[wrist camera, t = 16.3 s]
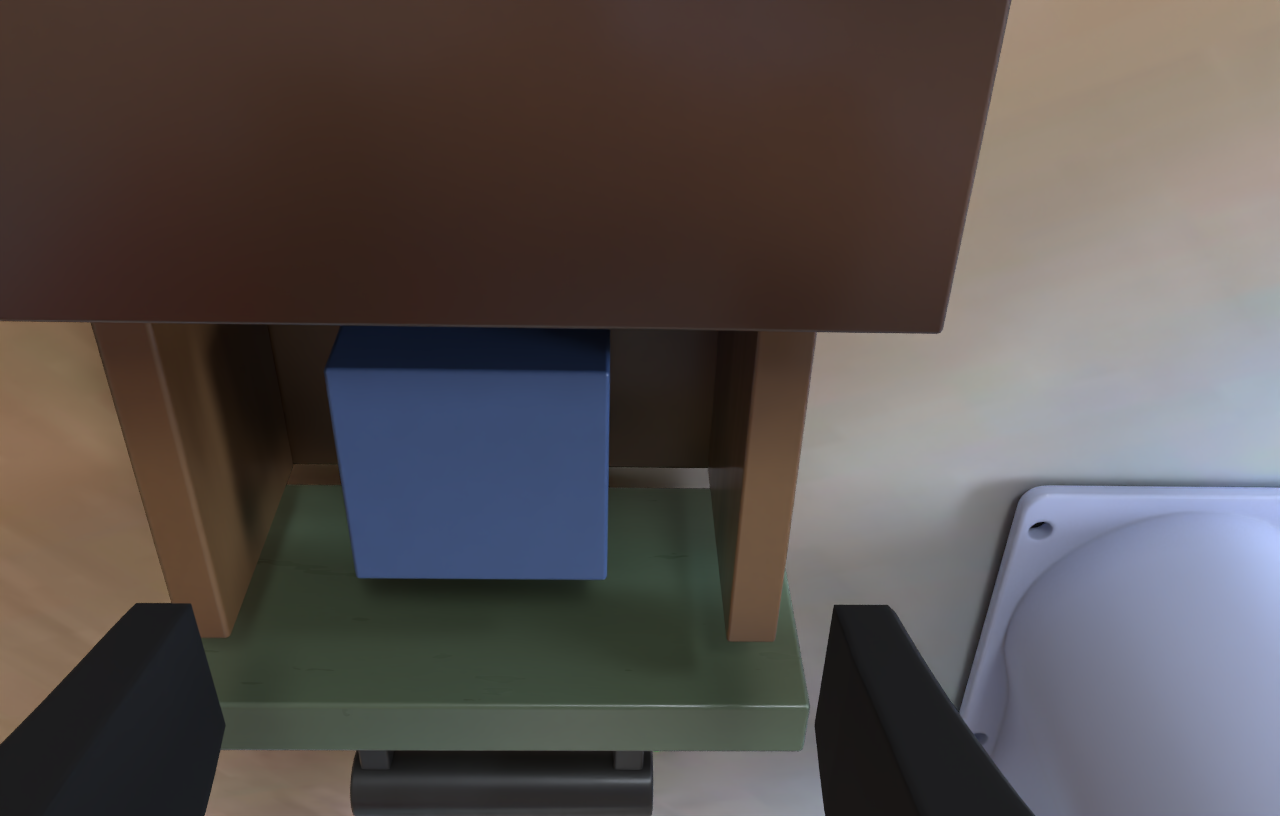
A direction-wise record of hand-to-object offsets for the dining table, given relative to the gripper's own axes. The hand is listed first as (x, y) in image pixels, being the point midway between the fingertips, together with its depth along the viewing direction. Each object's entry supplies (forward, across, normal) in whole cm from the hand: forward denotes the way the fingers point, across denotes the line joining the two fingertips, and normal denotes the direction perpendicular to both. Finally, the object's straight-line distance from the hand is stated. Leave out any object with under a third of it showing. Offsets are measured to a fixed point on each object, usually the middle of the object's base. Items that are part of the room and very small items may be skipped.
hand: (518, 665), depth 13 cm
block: (+8, +1, +1) cm, 8 cm away
